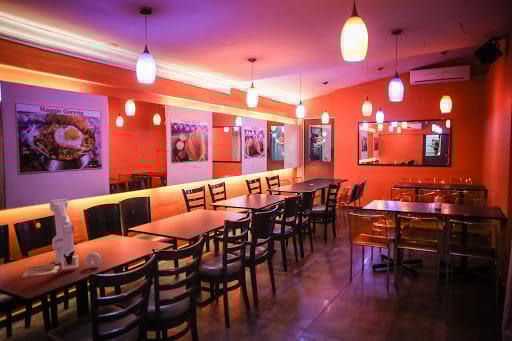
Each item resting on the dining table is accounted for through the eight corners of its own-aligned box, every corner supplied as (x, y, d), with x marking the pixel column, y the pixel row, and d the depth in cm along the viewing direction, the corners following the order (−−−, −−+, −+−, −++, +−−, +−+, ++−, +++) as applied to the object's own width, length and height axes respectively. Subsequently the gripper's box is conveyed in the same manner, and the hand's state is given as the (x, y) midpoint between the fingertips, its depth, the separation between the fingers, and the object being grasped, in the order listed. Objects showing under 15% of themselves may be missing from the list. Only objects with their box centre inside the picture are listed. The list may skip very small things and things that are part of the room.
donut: (102, 266, 223) (101, 251, 222) (99, 268, 219) (98, 253, 218) (88, 266, 224) (87, 251, 223) (85, 268, 220) (84, 253, 220)
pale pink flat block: (62, 268, 218) (61, 257, 218) (78, 265, 221) (77, 255, 221) (62, 269, 216) (61, 258, 215) (77, 267, 219) (77, 256, 218)
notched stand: (27, 271, 219) (26, 266, 219) (59, 267, 225) (58, 261, 225) (21, 278, 208) (21, 272, 207) (55, 273, 214) (55, 267, 214)
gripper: (73, 245, 212) (75, 266, 213) (76, 239, 225) (78, 259, 226) (60, 246, 209) (62, 268, 210) (64, 240, 223) (66, 261, 224)
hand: (69, 263), depth 218 cm, fingers closed on pale pink flat block, 2 cm apart
